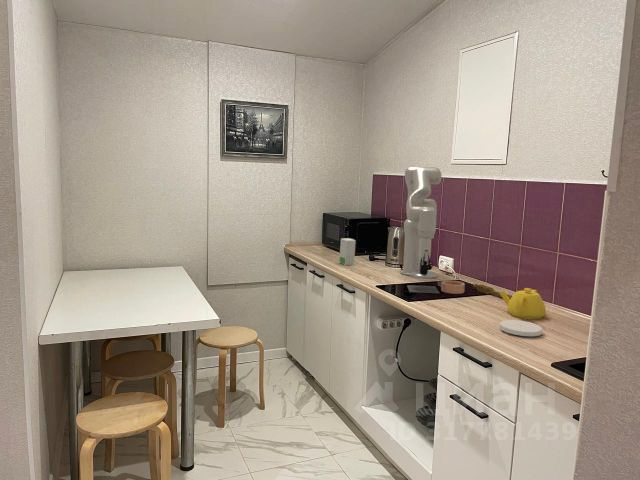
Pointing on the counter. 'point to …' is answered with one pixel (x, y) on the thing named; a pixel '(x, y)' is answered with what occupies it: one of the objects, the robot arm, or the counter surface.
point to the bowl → (453, 287)
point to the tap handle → (488, 290)
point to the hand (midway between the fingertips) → (423, 271)
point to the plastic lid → (521, 328)
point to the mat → (422, 289)
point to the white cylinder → (347, 251)
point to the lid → (423, 274)
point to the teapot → (525, 304)
